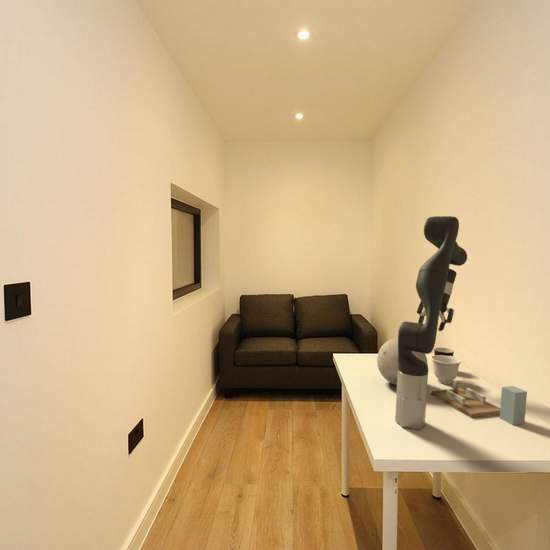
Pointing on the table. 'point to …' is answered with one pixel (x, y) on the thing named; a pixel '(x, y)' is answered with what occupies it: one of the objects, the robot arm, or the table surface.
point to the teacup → (445, 368)
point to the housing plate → (467, 401)
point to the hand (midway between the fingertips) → (429, 327)
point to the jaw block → (513, 405)
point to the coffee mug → (443, 351)
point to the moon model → (392, 360)
